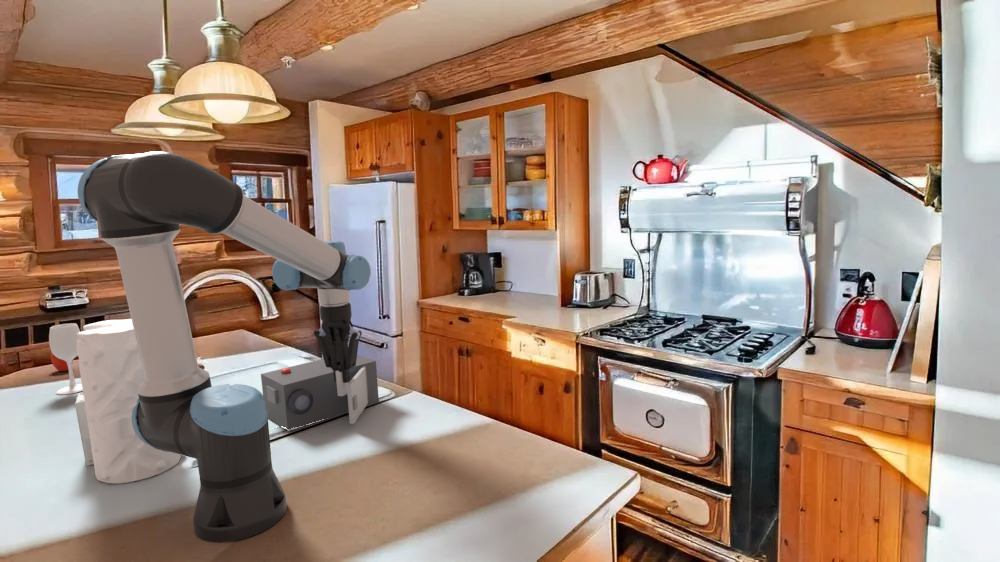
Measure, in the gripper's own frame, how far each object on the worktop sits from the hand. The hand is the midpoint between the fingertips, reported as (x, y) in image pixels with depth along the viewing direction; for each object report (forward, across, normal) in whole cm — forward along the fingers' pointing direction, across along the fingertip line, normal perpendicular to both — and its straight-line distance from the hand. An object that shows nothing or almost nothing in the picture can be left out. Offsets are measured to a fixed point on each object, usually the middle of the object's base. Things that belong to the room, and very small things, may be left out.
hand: (343, 394), depth 142 cm
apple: (+7, +129, -12) cm, 130 cm away
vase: (+7, +29, +34) cm, 45 cm away
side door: (+6, -3, -3) cm, 7 cm away
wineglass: (+7, +101, +2) cm, 102 cm away
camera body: (+7, +10, -4) cm, 13 cm away
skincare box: (+7, +43, +33) cm, 55 cm away
